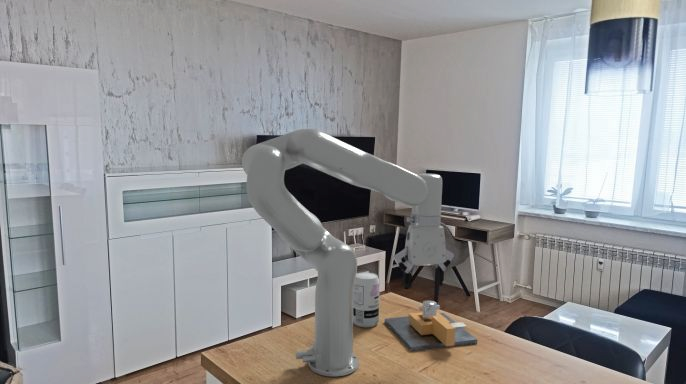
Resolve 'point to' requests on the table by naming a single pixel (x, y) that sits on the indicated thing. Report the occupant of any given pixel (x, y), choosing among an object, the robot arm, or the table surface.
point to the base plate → (429, 340)
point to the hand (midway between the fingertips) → (423, 285)
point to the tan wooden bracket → (434, 327)
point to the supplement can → (366, 300)
